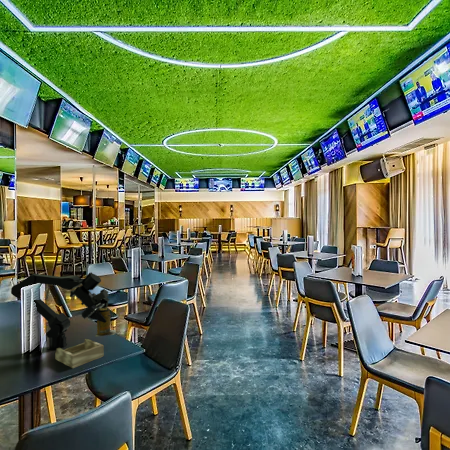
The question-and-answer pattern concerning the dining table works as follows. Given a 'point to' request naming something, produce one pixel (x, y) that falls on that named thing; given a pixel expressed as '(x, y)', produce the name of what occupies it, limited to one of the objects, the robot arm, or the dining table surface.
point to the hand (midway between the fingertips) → (108, 319)
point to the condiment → (104, 324)
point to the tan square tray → (80, 353)
